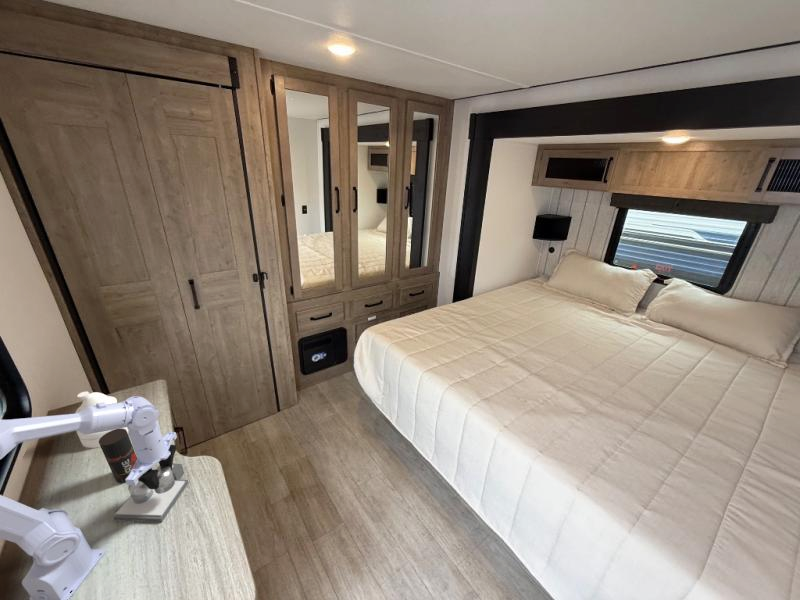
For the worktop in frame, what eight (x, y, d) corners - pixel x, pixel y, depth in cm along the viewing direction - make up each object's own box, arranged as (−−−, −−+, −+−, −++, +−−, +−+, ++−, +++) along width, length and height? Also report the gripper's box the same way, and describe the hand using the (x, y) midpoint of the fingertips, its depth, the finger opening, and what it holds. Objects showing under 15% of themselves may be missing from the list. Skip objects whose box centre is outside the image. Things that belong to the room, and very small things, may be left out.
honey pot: (98, 452, 98) (79, 408, 91) (71, 441, 102) (51, 397, 95) (141, 424, 110) (126, 383, 103) (115, 414, 113) (100, 374, 106)
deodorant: (126, 485, 89) (109, 447, 83) (110, 480, 90) (92, 442, 84) (146, 468, 94) (132, 431, 88) (131, 463, 95) (116, 426, 90)
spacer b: (167, 493, 81) (163, 480, 79) (150, 493, 81) (145, 480, 79) (178, 478, 85) (174, 465, 83) (162, 478, 85) (157, 465, 83)
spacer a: (142, 505, 82) (137, 493, 81) (129, 501, 83) (123, 488, 81) (157, 490, 86) (153, 478, 85) (144, 486, 87) (140, 474, 85)
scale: (162, 521, 81) (158, 511, 79) (114, 520, 80) (109, 509, 79) (195, 473, 94) (192, 463, 92) (153, 472, 93) (150, 461, 92)
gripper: (141, 467, 70) (155, 506, 76) (183, 420, 84) (193, 456, 89) (110, 465, 70) (127, 505, 75) (157, 419, 84) (168, 455, 89)
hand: (161, 479), depth 82 cm, fingers closed on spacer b, 4 cm apart
